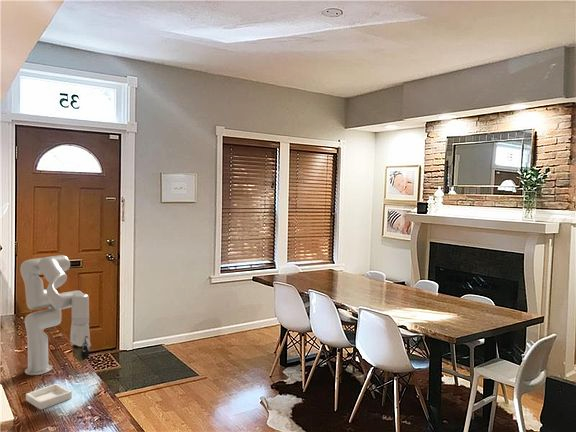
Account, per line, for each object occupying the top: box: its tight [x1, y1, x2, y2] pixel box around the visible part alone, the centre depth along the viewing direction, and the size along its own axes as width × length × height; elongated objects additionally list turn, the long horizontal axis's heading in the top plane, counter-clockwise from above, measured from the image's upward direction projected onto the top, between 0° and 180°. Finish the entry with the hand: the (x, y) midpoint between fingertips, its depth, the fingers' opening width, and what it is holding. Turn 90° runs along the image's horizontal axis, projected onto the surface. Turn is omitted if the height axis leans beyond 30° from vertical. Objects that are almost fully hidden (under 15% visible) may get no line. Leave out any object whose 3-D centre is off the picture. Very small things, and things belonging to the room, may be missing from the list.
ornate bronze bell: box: [71, 343, 86, 364], centre depth 218 cm, size 8×7×8 cm
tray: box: [25, 383, 73, 410], centre depth 212 cm, size 14×14×3 cm
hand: (80, 356), depth 218 cm, fingers closed on ornate bronze bell, 7 cm apart
